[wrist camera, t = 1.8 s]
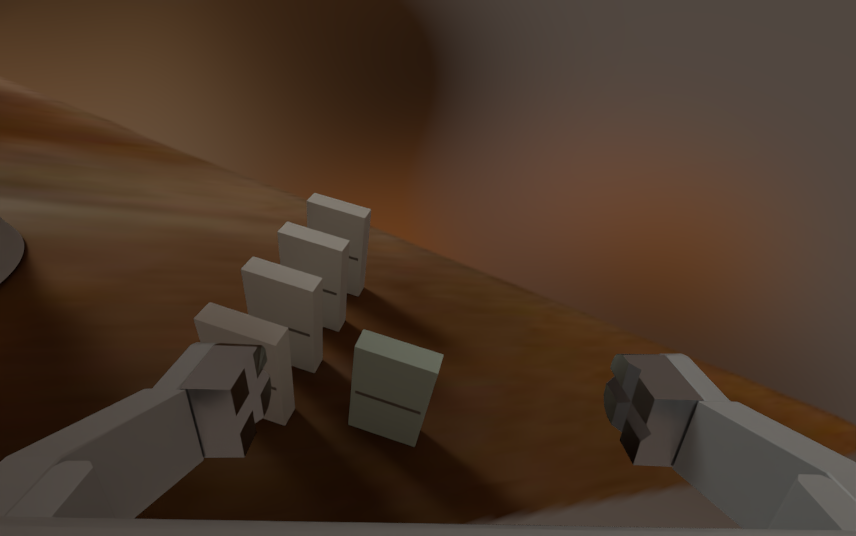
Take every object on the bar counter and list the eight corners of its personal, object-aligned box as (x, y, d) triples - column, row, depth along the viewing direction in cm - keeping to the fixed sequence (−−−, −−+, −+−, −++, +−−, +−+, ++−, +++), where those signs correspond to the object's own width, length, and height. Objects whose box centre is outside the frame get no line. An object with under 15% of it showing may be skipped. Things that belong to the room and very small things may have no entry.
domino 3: (284, 426, 29) (275, 346, 23) (218, 403, 29) (192, 319, 23) (295, 408, 30) (288, 327, 24) (231, 386, 30) (210, 301, 25)
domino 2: (314, 373, 32) (312, 292, 26) (254, 354, 33) (240, 269, 27) (322, 358, 33) (323, 277, 28) (265, 340, 34) (253, 255, 28)
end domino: (358, 297, 39) (364, 218, 33) (308, 281, 39) (306, 201, 34) (364, 286, 40) (371, 209, 34) (315, 271, 41) (314, 192, 35)
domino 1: (338, 332, 36) (341, 251, 30) (284, 314, 36) (277, 232, 30) (345, 319, 37) (350, 240, 31) (293, 303, 37) (287, 221, 31)
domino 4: (414, 448, 29) (437, 374, 23) (347, 425, 30) (354, 347, 24) (420, 428, 30) (443, 354, 25) (356, 407, 31) (363, 328, 25)
